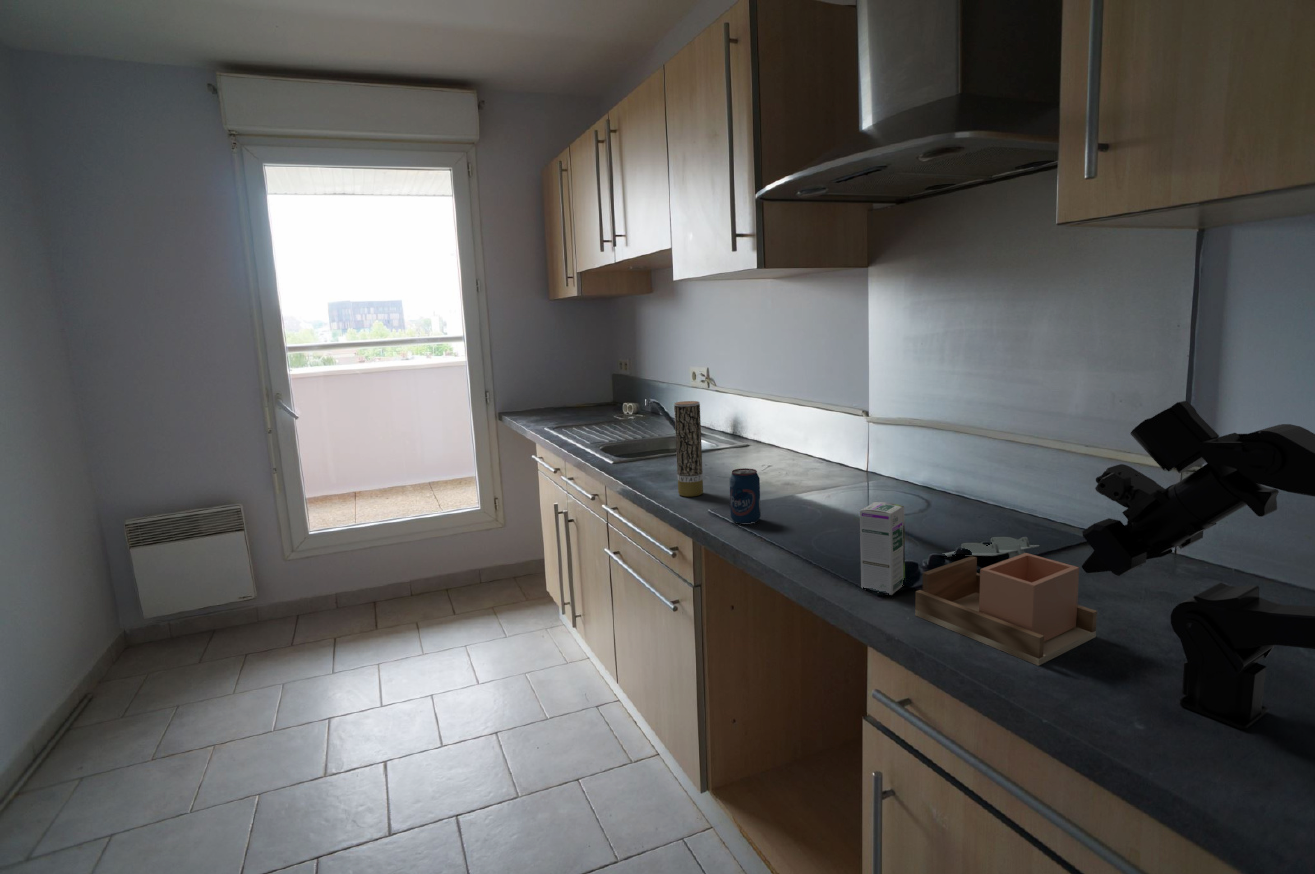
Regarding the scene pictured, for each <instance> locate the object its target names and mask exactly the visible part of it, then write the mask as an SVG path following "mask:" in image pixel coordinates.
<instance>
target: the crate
mask: <svg viewBox="0 0 1315 874" xmlns="http://www.w3.org/2000/svg"><path fill="white" fill-rule="evenodd" d="M979 574H980V597H979V612H981V613H984V614H986V615H989V616H992V617H995V618H997V619H1000V620H1003V621H1005V622H1008V623H1011V624H1013V625H1016V626H1019V627H1022V628H1024V629H1027V630H1030V631H1032V632H1035V633H1038V634H1041V635H1043V636H1044V642H1045V641H1047V640H1049V639H1051V638H1053V637H1055V636H1057V635H1059V634H1062V633H1064V632H1066V631H1068V630H1070V629H1072V628H1074V627H1076V618H1077V605H1078V597H1079V596H1078V595H1079V581H1080V567H1079V566H1075V565H1073V564H1072V565H1071V564H1068V563H1064V562H1061V561H1057V560H1054V559H1050V558H1046V557H1042V556H1039V555H1035V554H1031V553H1028V552H1025V553H1024V554H1021V555H1018V556H1015V557H1012V558H1010V559H1009V558H1008V559H1004V560H1001V561H998V562H996V563H993V564H990V565H988V566H985V567H982V568H980V570H979Z"/></svg>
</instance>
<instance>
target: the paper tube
mask: <svg viewBox="0 0 1315 874" xmlns="http://www.w3.org/2000/svg"><path fill="white" fill-rule="evenodd" d="M673 407H674V427H675V429H674V430H675V433H674V434H675V449H676V453H675V455H676V470H677V473H676V474H677V490H678V491H677V492H678V495H680V496H682V497H687V498H689V497H690V498H691V497H692V498H693V497H698V496H701V495H702V494H703V493H704V479H703V478H704V476H703V475H704V474H703V473H704V472H703V451H702V448H703V447H702V429H701V428H702V426H701V424H702V423H701V422H702V421H701V403H700V401H699V400H697V401H696V400H687V401H682V400H681V401H676V402H674V405H673Z"/></svg>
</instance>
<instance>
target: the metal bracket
mask: <svg viewBox="0 0 1315 874" xmlns="http://www.w3.org/2000/svg"><path fill="white" fill-rule="evenodd" d="M991 542H992V544H991ZM989 544H990V545H988V544H983V543H980V542H964V543H961V545H960V546H961V549H962V548H965V549H968V550H970V551H971V552H972V555H971V556H973V557H977V556H981V557H989V556H990V557H996V556H1000V555H1005V554H1008V559H1010V558H1012V557H1015V556H1018V555H1021V554H1024V553H1026V552H1025V550H1028V549H1029V550H1030V549H1034V548H1038V547H1040V545H1039V544H1030V541H1029V538H1028V537H1027V536H1023V537H1020V538H1013V537H1010V536H993V537H991V538H990V543H989ZM986 545H988V546H986ZM955 551H956V550H955ZM955 551H949V552H945V553H943V554H945V555H946V556H947V557H946V558H950V557H953V556H952V554H954V552H955Z"/></svg>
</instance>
